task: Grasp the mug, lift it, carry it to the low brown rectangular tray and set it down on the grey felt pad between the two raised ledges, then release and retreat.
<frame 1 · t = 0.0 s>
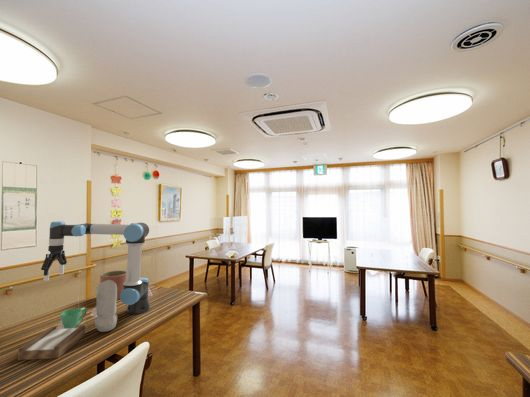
hand: (53, 277, 159), 28 cm above the table, fingers open, 13 cm apart
brown rectangular tray: (54, 346, 130), on the table
mug: (74, 326, 151), on the table
sculpture: (105, 330, 149), on the table
planter: (112, 297, 200), on the table
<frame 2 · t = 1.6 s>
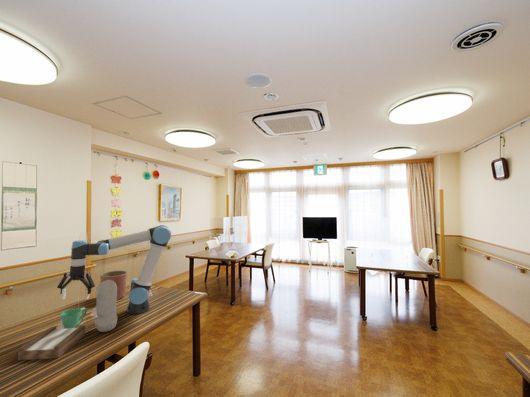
hand: (75, 299, 152), 17 cm above the table, fingers open, 13 cm apart
nothing on the table moved.
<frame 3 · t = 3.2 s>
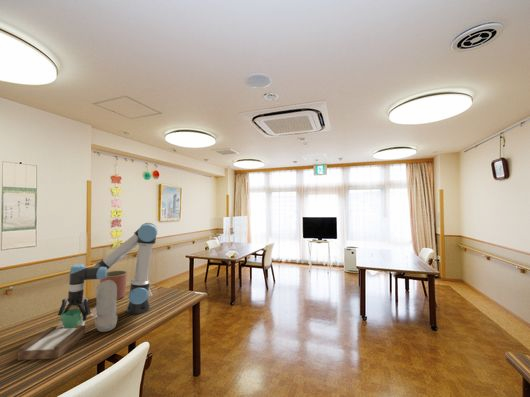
hand: (73, 326, 151), 0 cm above the table, fingers open, 10 cm apart
mug: (74, 326, 151), on the table, touching gripper
everything else where it was.
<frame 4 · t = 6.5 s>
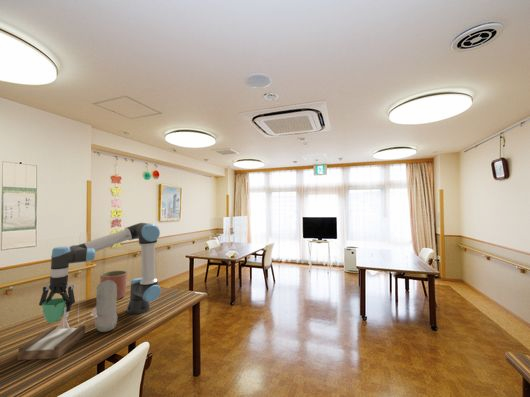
hand: (56, 317, 131), 15 cm above the table, fingers closed on mug, 9 cm apart
mug: (57, 318, 131), point 14 cm above the table, touching gripper
everything else where it was.
when the fingers open (5 cm above the table, at t = 8.6 s): mug moves 2 cm, point 4 cm above the table.
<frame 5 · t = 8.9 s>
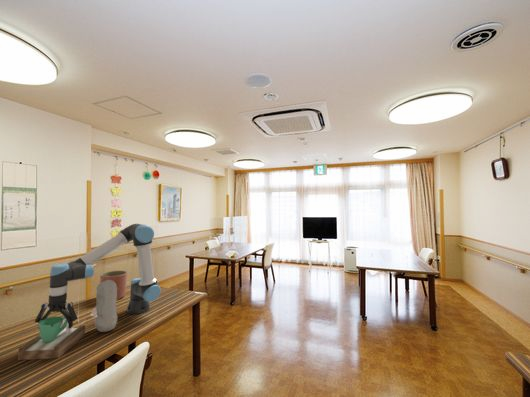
hand: (55, 334, 130), 6 cm above the table, fingers open, 12 cm apart
mug: (53, 337, 131), point 4 cm above the table, touching gripper
everything else where it was.
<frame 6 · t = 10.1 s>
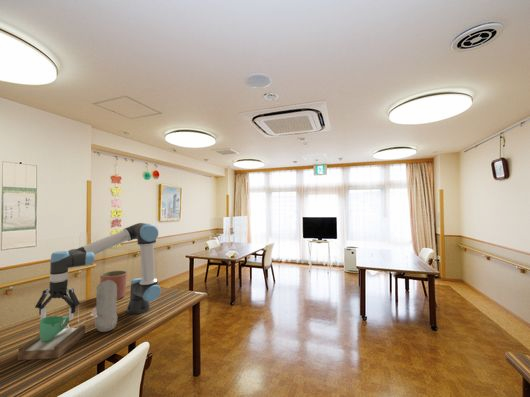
hand: (57, 319, 131), 14 cm above the table, fingers open, 13 cm apart
mug: (51, 337, 131), point 4 cm above the table, touching brown rectangular tray
everything else where it was.
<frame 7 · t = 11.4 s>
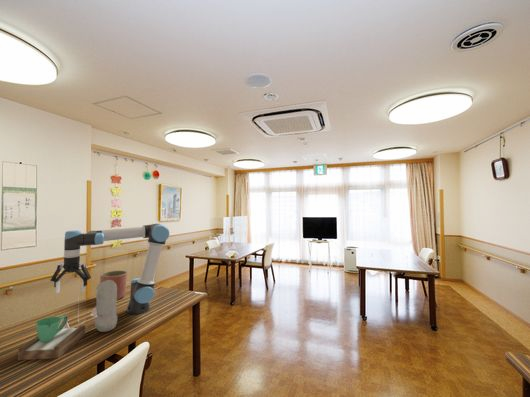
hand: (70, 292, 145), 24 cm above the table, fingers open, 13 cm apart
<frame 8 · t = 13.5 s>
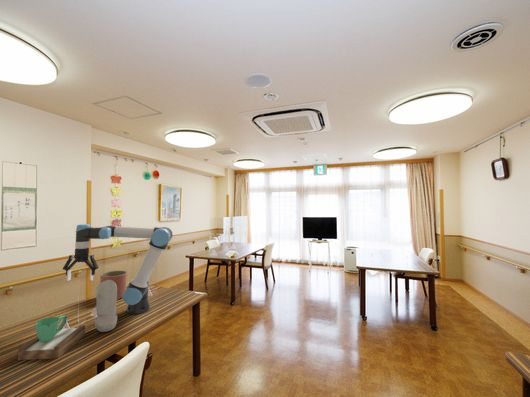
hand: (80, 280, 159), 27 cm above the table, fingers open, 13 cm apart
at the end: mug inside the target area on the brown rectangular tray (2.3 cm from its centre), point 4.1 cm above the brown rectangular tray's base; mug tilted 0°; the gripper is holding nothing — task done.
